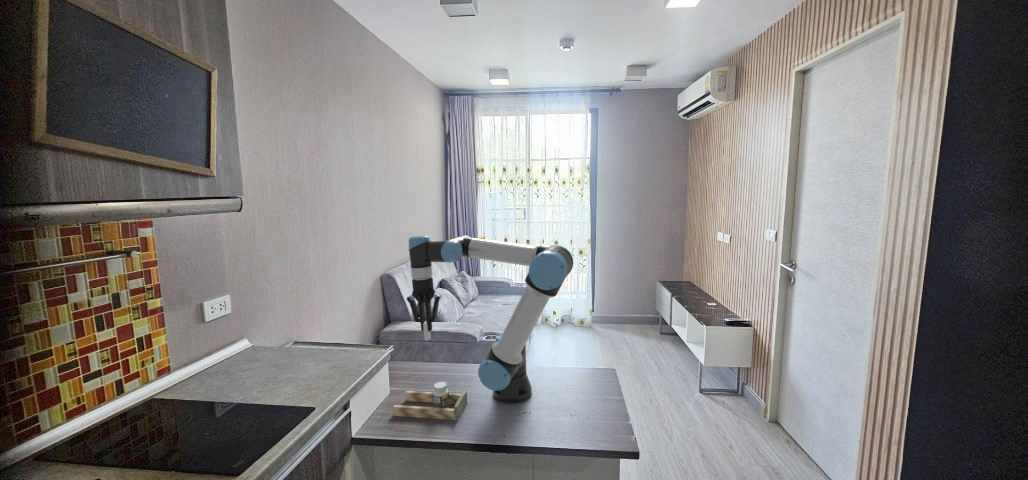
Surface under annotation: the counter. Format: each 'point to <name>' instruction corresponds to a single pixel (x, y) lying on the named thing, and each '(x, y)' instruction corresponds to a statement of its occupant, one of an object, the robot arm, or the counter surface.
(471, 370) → the counter surface
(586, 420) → the counter surface
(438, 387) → the pill bottle
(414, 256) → the robot arm
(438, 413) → the bay
